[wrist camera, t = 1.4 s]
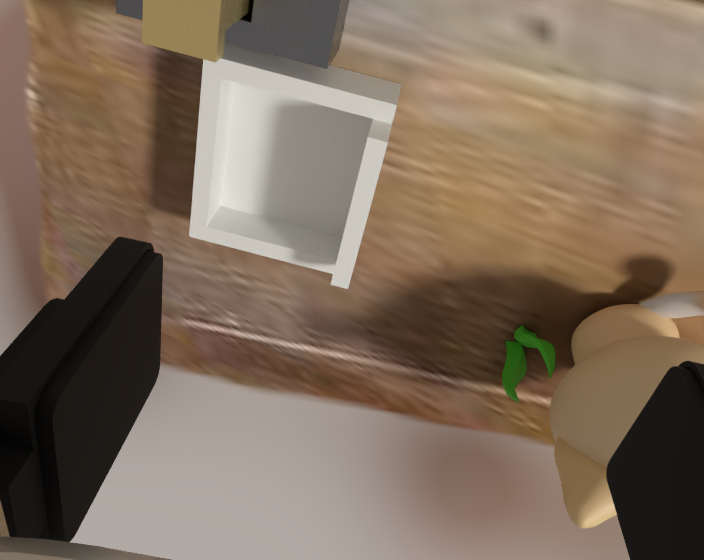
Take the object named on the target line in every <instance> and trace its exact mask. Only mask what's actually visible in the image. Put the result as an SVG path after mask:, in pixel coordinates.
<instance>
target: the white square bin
mask: <svg viewBox="0 0 704 560" xmlns="http://www.w3.org/2000/svg"><path fill="white" fill-rule="evenodd" d="M400 89H401V84H398V83H394V82H391V81H387V80H383V79H379V78H376V77H372V76H368V75H364V74H361V73H357V72H353V71H349V70H346V69H342V68H338V67H334V66H331V65H329V67H328V68H327V69H324V68H320V67H317V66H313V65H309V64H305V63H302V62H298V61H294V60H290V59H287V58H283V57H279V56H275V55H272V54H268V53H264V52H260V51H257V50H253V49H249V48H245V47H242V46H238V45H234V44H230V43H227V42H225V43H224V53H223V57H221V58H220V59H219V60H218V61H217V62H216V63H215V62H212V61H208V60H204V59H203V70H202V82H201V95H200V107H199V120H198V132H197V145H196V157H195V170H194V182H193V195H192V207H191V220H190V232H189V237H193V238H197V239H201V240H205V241H208V242H212V243H216V244H220V245H224V246H228V247H232V248H235V249H239V250H243V251H247V252H251V253H255V254H258V255H262V256H266V257H270V258H274V259H278V260H281V261H285V262H289V263H293V264H297V265H301V266H304V267H308V268H312V269H316V270H320V271H324V272H327V273H331V274H333V277H332V281H331V285H334V286H338V287H342V288H346V289H348V287H349V283H350V279H351V276H352V272H353V268H354V265H355V261H356V257H357V254H358V250H359V246H360V243H361V239H362V235H363V232H364V228H365V224H366V221H367V217H368V213H369V210H370V206H371V202H372V199H373V195H374V191H375V188H376V184H377V180H378V177H379V173H380V169H381V166H382V162H383V158H384V155H385V151H386V147H387V144H388V140H389V135H390V130H391V126H392V122H393V118H394V114H395V111H396V107H397V103H398V98H399V94H400Z"/></svg>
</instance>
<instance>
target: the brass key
mask: <svg viewBox="0 0 704 560" xmlns="http://www.w3.org/2000/svg"><path fill="white" fill-rule="evenodd" d="M252 1H253V0H143V20H142V43H144V44H148V45H152V46H155V47H159V48H163V49H167V50H170V51H174V52H178V53H182V54H185V55H189V56H193V57H197V58H200V59H204V60H208V61H212V62H215V63H216V62H217V61H218V60H219V59H220V58H221V57H223V53H224V43H225V33H226V30H227V29H228V28H229V27H230V26H232V25H233V24H234V23H236V22H237V21H238V20H239V19H241V18H242V17H243V16H245V15H246V14H247V13H249V12H250V11H251V9H252Z"/></svg>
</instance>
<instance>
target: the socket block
mask: <svg viewBox="0 0 704 560" xmlns="http://www.w3.org/2000/svg"><path fill="white" fill-rule="evenodd" d="M348 3H349V0H254V1H252V9H251V11H250V12H249V13H247V14H246V15H245V16H243V17H242V18H241V19H239V20H238V21H237V22H236V23H234V24H233V25H232V26H230V27H229V28H228V29H227V30H226V33H225V42H227V43H230V44H234V45H238V46H242V47H245V48H249V49H253V50H257V51H260V52H264V53H268V54H272V55H275V56H279V57H283V58H287V59H290V60H294V61H298V62H302V63H305V64H309V65H313V66H317V67H320V68H324V69H327V68H328V67H329V65H330V63H331V62H332V60H333V58H334V56H335V55H336V53H337V51H338V50H339V47H340V42H341V37H342V32H343V27H344V22H345V17H346V12H347V7H348ZM116 9H117V13H118V14H122V15H125V16H129V17H133V18H137V19H140V20H143V0H116Z"/></svg>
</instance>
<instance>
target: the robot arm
mask: <svg viewBox="0 0 704 560" xmlns="http://www.w3.org/2000/svg"><path fill="white" fill-rule="evenodd" d="M162 273H163V257H162V255H161V254H159V253H155V252H154V249H153V245H152V244H151V243H147V242H142V241H138V240H133V239H129V238H124V237H118V238H117V239H115V240H114V242H113V243H112V244H111V245H110V246H109V248H108V249H107V250H106V251H105V252H104V253H103V255H102V256H101V257H100V258H99V259H98V261H97V262H96V263H95V264H94V265H93V266H92V268H91V269H90V270H89V271H88V272H87V274H86V275H85V276H84V277H83V278H82V279H81V281H80V282H79V283H78V284H77V285H76V287H75V288H74V289H73V290H72V291H71V292H70V294H69V295H68V296H67V297H66V298H65V300H63V299H58V298H56V299H53V300H50V301H49V302H48V303H47V304H46V305H45V306H44V307H43V308H42V309H41V311H40V312H39V313H38V314H37V315H36V316H35V317H34V319H33V320H32V321H31V322H30V323H29V324H28V325H27V326H26V327H25V329H24V330H23V331H22V332H21V333H20V334H19V335H18V337H17V338H16V339H15V340H14V341H13V343H11V345H10V346H9V347H8V348H7V349H6V350H5V351H4V352H3V354H2V355H1V356H0V560H170V559H165V558H159V557H154V556H148V555H143V554H137V553H132V552H126V551H121V550H115V549H110V548H105V547H99V546H92V545H85V544H78V543H70V541H71V540H72V539H73V537H74V536H75V534H76V532H77V531H78V529H79V527H80V525H81V523H82V521H83V519H84V517H85V515H86V514H87V512H88V510H89V508H90V506H91V504H92V502H93V500H94V498H95V497H96V494H97V493H98V491H99V489H100V487H101V485H102V483H103V481H104V479H105V478H106V475H107V474H108V472H109V470H110V468H111V466H112V464H113V462H114V460H115V459H116V457H117V455H118V453H119V451H120V449H121V447H122V445H123V444H124V442H125V440H126V438H127V436H128V434H129V432H130V430H131V428H132V427H133V425H134V423H135V421H136V419H137V417H138V415H139V413H140V411H141V409H142V408H143V406H144V404H145V402H146V400H147V398H148V396H149V394H150V392H151V390H152V389H153V387H154V385H155V383H156V380H157V377H158V374H159V369H160V348H161V311H162ZM606 478H607V483H608V486H609V490H610V493H611V496H612V500H613V503H614V506H615V510H616V513H617V516H618V520H619V523H620V526H621V530H622V533H623V536H624V540H625V543H626V547H627V550H628V553H629V557H630V560H704V364H701V363H697V362H692V361H684V362H682V363H681V364H680V365H679V366H673V367H671V368H670V369H669V370H668V371H667V372H666V374H665V376H664V377H663V379H662V380H661V382H660V383H659V385H658V386H657V388H656V389H655V391H654V392H653V394H652V396H651V397H650V399H649V400H648V402H647V403H646V405H645V406H644V408H643V409H642V411H641V412H640V414H639V416H638V417H637V419H636V420H635V422H634V423H633V425H632V426H631V428H630V429H629V431H628V433H627V434H626V436H625V437H624V439H623V440H622V442H621V443H620V445H619V446H618V448H617V449H616V451H615V453H614V454H613V456H612V457H611V459H610V460H609V462H608V465H607V470H606Z"/></svg>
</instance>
